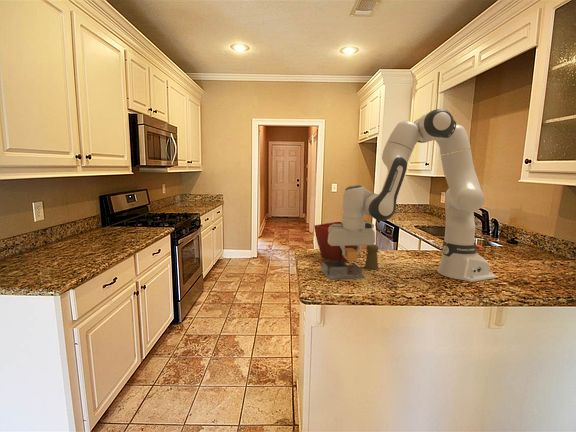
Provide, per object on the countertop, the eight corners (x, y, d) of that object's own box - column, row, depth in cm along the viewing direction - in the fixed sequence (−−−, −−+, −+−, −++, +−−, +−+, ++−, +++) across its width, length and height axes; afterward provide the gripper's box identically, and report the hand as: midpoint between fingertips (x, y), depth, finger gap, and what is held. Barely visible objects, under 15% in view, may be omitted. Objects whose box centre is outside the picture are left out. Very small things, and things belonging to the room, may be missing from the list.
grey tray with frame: (352, 268, 137) (352, 258, 136) (363, 278, 124) (364, 267, 123) (320, 269, 134) (321, 259, 134) (329, 279, 122) (329, 269, 121)
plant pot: (312, 256, 154) (313, 224, 152) (337, 251, 166) (338, 221, 163) (340, 266, 139) (341, 231, 137) (365, 259, 151) (367, 226, 149)
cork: (380, 267, 138) (381, 244, 136) (374, 270, 133) (375, 246, 132) (368, 264, 142) (369, 242, 140) (362, 267, 137) (363, 244, 136)
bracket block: (352, 256, 132) (352, 248, 131) (357, 260, 126) (357, 251, 126) (343, 257, 131) (344, 248, 131) (348, 261, 126) (348, 252, 125)
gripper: (330, 225, 122) (329, 257, 124) (377, 224, 125) (375, 256, 127) (326, 222, 128) (325, 253, 130) (371, 222, 131) (369, 252, 133)
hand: (350, 255), depth 129 cm, fingers closed on bracket block, 4 cm apart
